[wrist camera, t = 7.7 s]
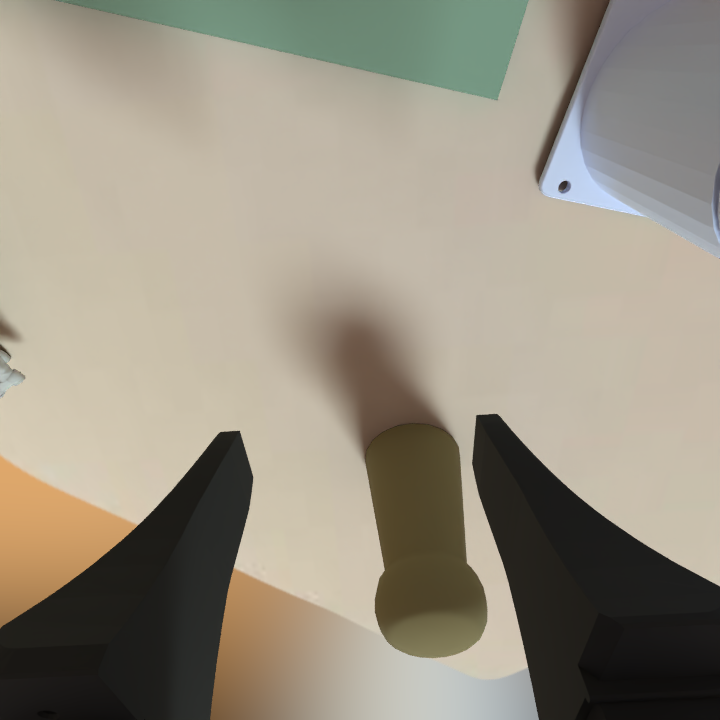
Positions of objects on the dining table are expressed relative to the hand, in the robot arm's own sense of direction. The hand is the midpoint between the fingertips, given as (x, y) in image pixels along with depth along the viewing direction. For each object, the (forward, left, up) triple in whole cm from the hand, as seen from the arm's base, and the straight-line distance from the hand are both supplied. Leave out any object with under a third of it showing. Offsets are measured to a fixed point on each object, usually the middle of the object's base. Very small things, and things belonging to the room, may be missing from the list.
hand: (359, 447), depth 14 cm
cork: (-5, +11, -11) cm, 16 cm away
